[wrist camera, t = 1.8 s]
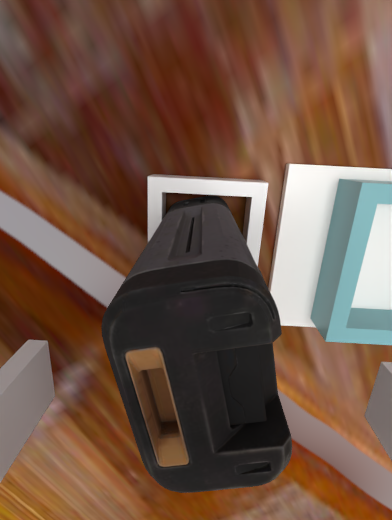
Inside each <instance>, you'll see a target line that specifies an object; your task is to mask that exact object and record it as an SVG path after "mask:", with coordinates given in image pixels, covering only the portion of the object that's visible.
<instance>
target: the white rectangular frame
mask: <svg viewBox="0 0 392 520" xmlns="http://www.w3.org/2000/svg"><path fill="white" fill-rule="evenodd" d="M267 190H268V183H267V182H265V181H262V180H250V179H232V178H213V177H195V176H176V175H158V174H153V175H150V176H148V242H149V241H150V239H151V238H152V236H153V234H154V233H155V231H156V230H157V228H158V226H159V225H160V223H161V222H162V220H163V218H164V217H165V215H166V192H168V193H187V194H205V195H224V196H242V197H246V207H245V216H244V225H243V237H244V239H245V241H246V244H247V246H248V248H249V250H250V252H251V254H252V257H253V259H254V261H255V263H256V265H257V266H258V260H259V252H260V244H261V236H262V229H263V221H264V213H265V205H266V198H267Z"/></svg>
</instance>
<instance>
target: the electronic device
mask: <svg viewBox="0 0 392 520" xmlns="http://www.w3.org/2000/svg"><path fill="white" fill-rule="evenodd" d="M280 335H281V323H280V317H279V312H278V309H277V306H276V303H275V301H274V299H273V297H272V295H271V293H270V291H269V289H268V287H267V285H266V283H265V281H264V279H263V277H262V274H261V272H260V270H259V268H258V266H257V265H256V263H255V261H254V259H253V257H252V254H251V252H250V250H249V248H248V246H247V244H246V241H245V239H244V237H243V235H242V234H241V232H240V230H239V228H238V226H237V224H236V222H235V220H234V218H233V216H232V214H231V211H230V209H229V207H228V205H227V204H226V202H225V201H224V200H223V199H222V198H220V197H217V196H205V197H199V198H194V199H188V200H183V201H179V202H176V203H175V204H173V205H172V206H171V207H170V209H169V210H168V212H167V214H166V215H165V217H164V218H163V220H162V222H161V223H160V225H159V226H158V228H157V230H156V231H155V233H154V234H153V236H152V238H151V239H150V241H149V242H148V244H147V246H146V247H145V249H144V250H143V252H142V254H141V255H140V257H139V258H138V260H137V261H136V263H135V265H134V266H133V268H132V269H131V271H130V273H129V274H128V276H127V277H126V279H125V281H124V282H123V284H122V285H121V287H120V289H119V290H118V292H117V294H116V296H115V297H114V298H113V300H112V302H111V303H110V305H109V306H108V308H107V310H106V312H105V314H104V317H103V320H102V337H103V341H104V345H105V349H106V352H107V355H108V358H109V361H110V364H111V367H112V370H113V373H114V376H115V379H116V382H117V385H118V388H119V391H120V394H121V397H122V400H123V403H124V406H125V409H126V413H127V416H128V419H129V422H130V425H131V428H132V431H133V434H134V437H135V440H136V443H137V446H138V449H139V452H140V455H141V458H142V461H143V463H144V466H145V468H146V470H147V471H148V473H149V474H150V475H151V476H152V477H153V478H154V479H155V480H156V481H157V482H158V483H159V484H160V485H161V486H163V487H164V488H166V489H168V490H171V491H175V492H180V493H185V492H202V491H212V490H223V489H233V488H243V487H253V486H259V485H263V484H266V483H269V482H270V481H272V480H274V479H275V478H276V477H277V476H278V475H279V474H280V473H281V472H282V471H283V470H284V469H285V467H286V466H287V465H288V463H289V461H290V458H291V454H292V441H291V434H290V431H289V428H288V425H287V421H286V419H285V415H284V412H283V409H282V405H281V402H280V399H279V396H278V391H277V381H276V372H275V362H274V353H273V344H272V343H273V342H274V341H275V340H276V339H277V338H278V337H279V336H280Z"/></svg>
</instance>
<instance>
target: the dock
mask: <svg viewBox="0 0 392 520" xmlns="http://www.w3.org/2000/svg"><path fill="white" fill-rule="evenodd" d="M268 289H269V291H270V293H271V295H272V297H273V299H274V301H275V303H276V306H277V309H278V312H279V317H280V323H281V325H285V326H303V327H316V328H317V329H318V331H319V332H320V334H321V335H322V337H323V338H324V340H325V341H327V342H344V343H362V344H380V345H392V169H379V168H361V167H342V166H324V165H305V164H286V171H285V177H284V184H283V191H282V198H281V205H280V212H279V219H278V225H277V232H276V239H275V246H274V253H273V260H272V266H271V273H270V280H269V287H268Z"/></svg>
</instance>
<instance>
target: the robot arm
mask: <svg viewBox="0 0 392 520" xmlns="http://www.w3.org/2000/svg"><path fill="white" fill-rule="evenodd" d="M54 397H55V391H54V384H53V376H52V369H51V362H50V354H49V347H48V341H43V340H28V341H27V342H26V343H25V344H24V345H23V346H22V347H21V348H20V349H19V350H18V351H17V352H16V353H15V354H14V355H13V356H12V357H11V358H10V359H9V360H8V361H7V362H6V363H5V364H4V365H3V366H2V367H1V368H0V482H1V481H2V479H3V477H4V476H5V474H6V473H7V471H8V470H9V468H10V466H11V465H12V463H13V462H14V460H15V459H16V457H17V455H18V454H19V452H20V451H21V449H22V447H23V446H24V444H25V443H26V441H27V440H28V438H29V436H30V435H31V433H32V432H33V430H34V428H35V427H36V425H37V424H38V422H39V421H40V419H41V417H42V416H43V414H44V413H45V411H46V409H47V408H48V406H49V405H50V403H51V402H52V400H53V398H54ZM365 418H366V419H367V421H368V423H369V424H370V426H371V428H372V429H373V431H374V433H375V434H376V436H377V437H378V439H379V441H380V442H381V444H382V446H383V447H384V449H385V451H386V452H387V454H388V455H389V457H390V459H391V460H392V362H381V365H380V368H379V371H378V374H377V377H376V381H375V384H374V387H373V390H372V393H371V397H370V400H369V403H368V406H367V409H366V413H365Z"/></svg>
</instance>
